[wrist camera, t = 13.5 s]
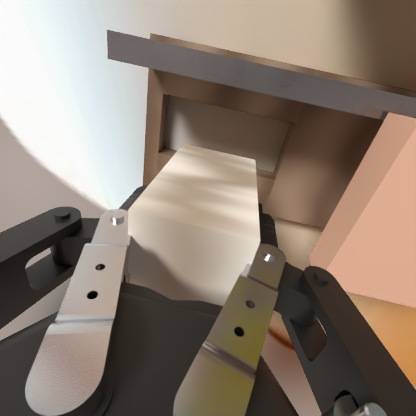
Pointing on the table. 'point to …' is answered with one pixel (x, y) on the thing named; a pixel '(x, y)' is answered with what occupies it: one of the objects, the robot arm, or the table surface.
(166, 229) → the cream block
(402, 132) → the sliding cover
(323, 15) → the table surface
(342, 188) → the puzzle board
